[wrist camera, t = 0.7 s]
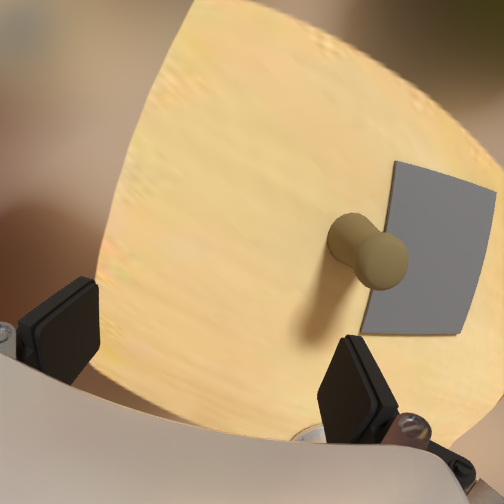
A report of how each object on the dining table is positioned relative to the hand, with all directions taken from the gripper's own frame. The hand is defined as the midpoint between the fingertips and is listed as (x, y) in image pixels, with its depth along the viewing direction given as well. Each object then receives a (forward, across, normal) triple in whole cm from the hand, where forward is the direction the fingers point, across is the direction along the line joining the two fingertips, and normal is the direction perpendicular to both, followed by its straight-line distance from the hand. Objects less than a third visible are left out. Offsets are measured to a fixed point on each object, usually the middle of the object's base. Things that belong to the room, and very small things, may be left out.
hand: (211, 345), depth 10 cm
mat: (+24, -26, -1) cm, 35 cm away
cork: (+24, -12, -1) cm, 27 cm away
